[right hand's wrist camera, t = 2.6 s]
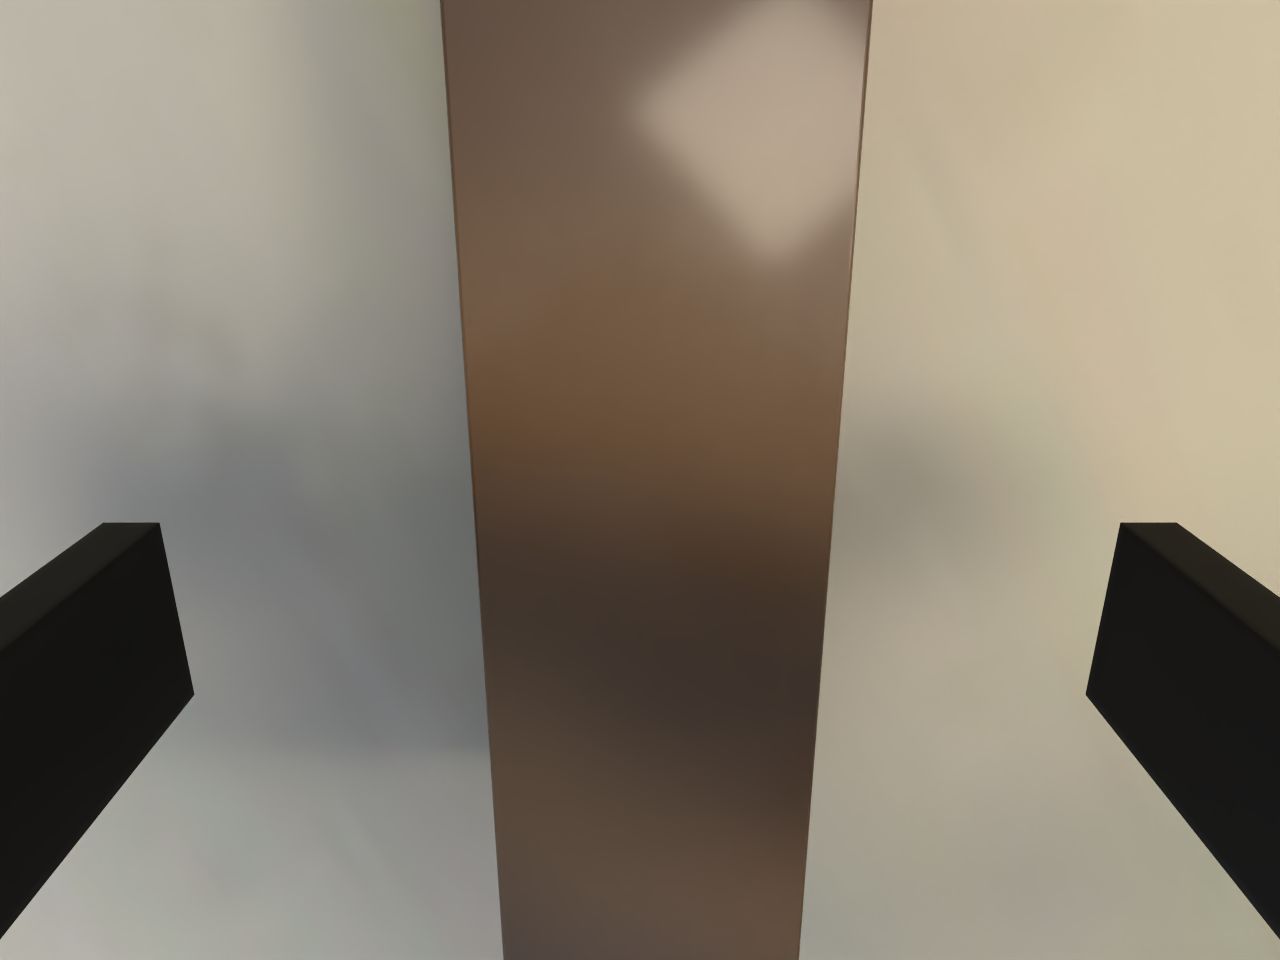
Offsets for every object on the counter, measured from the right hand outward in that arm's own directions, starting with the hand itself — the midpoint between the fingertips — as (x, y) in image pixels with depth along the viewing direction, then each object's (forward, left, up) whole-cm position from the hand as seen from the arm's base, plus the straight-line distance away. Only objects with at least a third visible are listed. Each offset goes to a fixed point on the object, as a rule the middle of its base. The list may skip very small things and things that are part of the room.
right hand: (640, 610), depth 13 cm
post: (+7, -22, -8) cm, 25 cm away
